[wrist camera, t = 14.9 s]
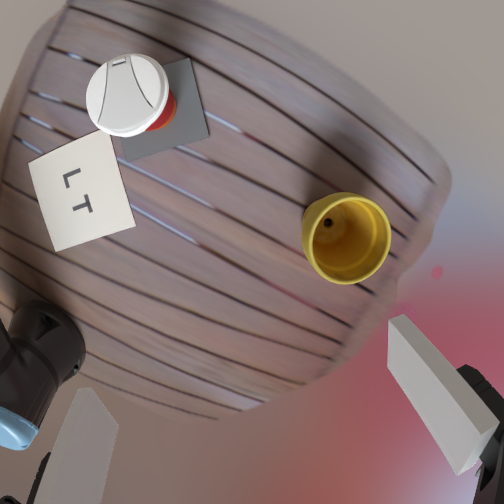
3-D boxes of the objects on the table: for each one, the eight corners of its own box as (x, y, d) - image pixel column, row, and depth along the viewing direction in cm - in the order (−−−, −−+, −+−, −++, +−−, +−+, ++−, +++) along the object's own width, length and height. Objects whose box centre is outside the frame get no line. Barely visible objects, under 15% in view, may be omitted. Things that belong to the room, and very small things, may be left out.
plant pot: (363, 186, 41) (398, 199, 32) (353, 256, 45) (383, 284, 35) (291, 181, 40) (312, 192, 31) (285, 256, 43) (303, 286, 34)
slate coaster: (128, 161, 37) (126, 162, 36) (109, 85, 33) (108, 84, 33) (209, 137, 37) (209, 137, 37) (189, 59, 33) (189, 57, 33)
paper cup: (122, 88, 33) (77, 64, 20) (181, 74, 33) (161, 40, 20) (130, 145, 36) (86, 147, 23) (189, 132, 36) (172, 125, 23)
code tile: (56, 251, 40) (55, 252, 40) (28, 163, 35) (28, 163, 35) (136, 225, 40) (135, 225, 40) (108, 126, 35) (107, 126, 35)
